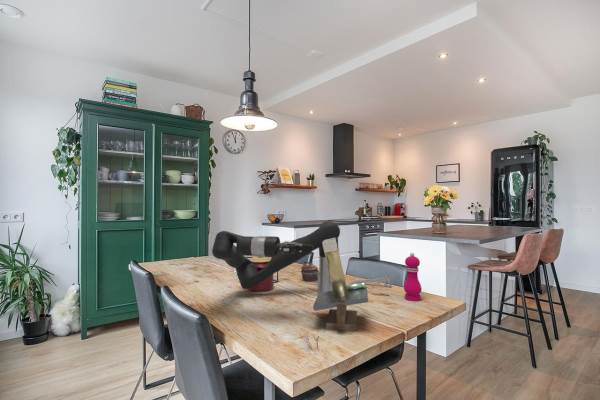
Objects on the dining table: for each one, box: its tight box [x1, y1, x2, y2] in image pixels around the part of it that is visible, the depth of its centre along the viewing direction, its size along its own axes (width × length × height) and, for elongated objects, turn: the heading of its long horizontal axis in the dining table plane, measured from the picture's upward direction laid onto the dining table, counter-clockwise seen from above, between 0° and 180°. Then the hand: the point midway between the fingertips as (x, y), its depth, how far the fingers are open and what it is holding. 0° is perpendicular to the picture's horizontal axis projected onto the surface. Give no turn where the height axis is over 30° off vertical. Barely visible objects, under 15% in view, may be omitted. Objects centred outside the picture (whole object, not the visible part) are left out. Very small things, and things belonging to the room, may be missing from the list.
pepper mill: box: [403, 252, 423, 302], centre depth 135 cm, size 7×7×20 cm
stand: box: [325, 302, 358, 332], centre depth 109 cm, size 10×20×10 cm, turn 169°
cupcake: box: [300, 261, 319, 283], centre depth 170 cm, size 10×10×10 cm
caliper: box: [351, 274, 392, 288], centre depth 159 cm, size 20×1×6 cm, turn 59°
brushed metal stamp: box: [312, 238, 369, 312], centre depth 110 cm, size 18×16×21 cm
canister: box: [247, 256, 275, 293], centre depth 154 cm, size 13×13×18 cm
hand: (312, 248), depth 111 cm, fingers closed
